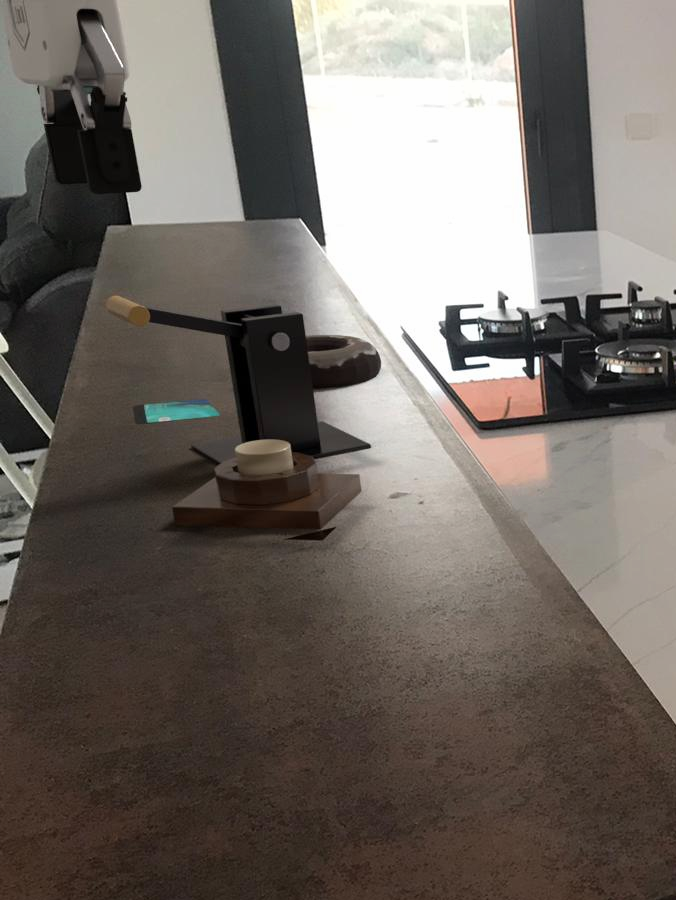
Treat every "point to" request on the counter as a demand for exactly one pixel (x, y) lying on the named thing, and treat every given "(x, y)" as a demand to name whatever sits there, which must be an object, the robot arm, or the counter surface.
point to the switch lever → (172, 318)
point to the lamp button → (263, 457)
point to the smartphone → (173, 411)
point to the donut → (341, 360)
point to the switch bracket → (275, 388)
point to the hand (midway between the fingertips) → (98, 185)
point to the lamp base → (270, 499)
